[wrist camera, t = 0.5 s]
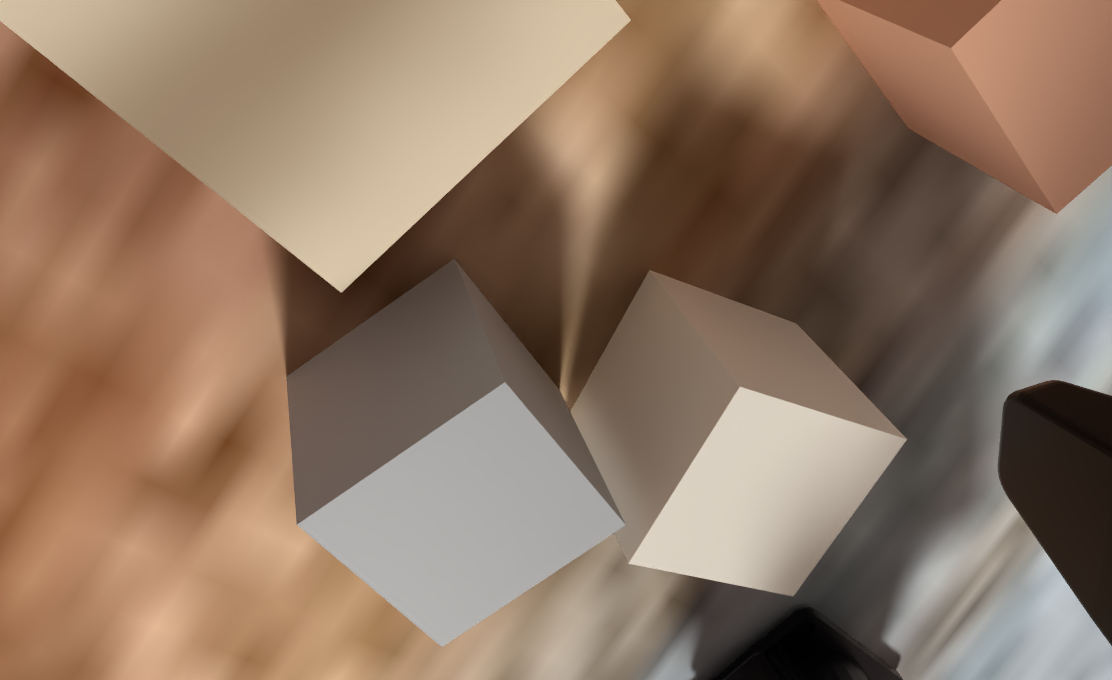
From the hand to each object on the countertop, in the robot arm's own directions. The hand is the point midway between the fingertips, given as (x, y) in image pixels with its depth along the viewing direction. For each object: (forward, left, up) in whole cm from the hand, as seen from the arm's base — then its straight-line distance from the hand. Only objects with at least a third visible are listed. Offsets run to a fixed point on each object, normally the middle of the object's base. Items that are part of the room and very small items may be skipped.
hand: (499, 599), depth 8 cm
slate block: (-6, +4, -13) cm, 15 cm away
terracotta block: (-8, -10, -13) cm, 18 cm away
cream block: (-11, 0, -13) cm, 17 cm away
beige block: (+2, -1, -14) cm, 14 cm away
